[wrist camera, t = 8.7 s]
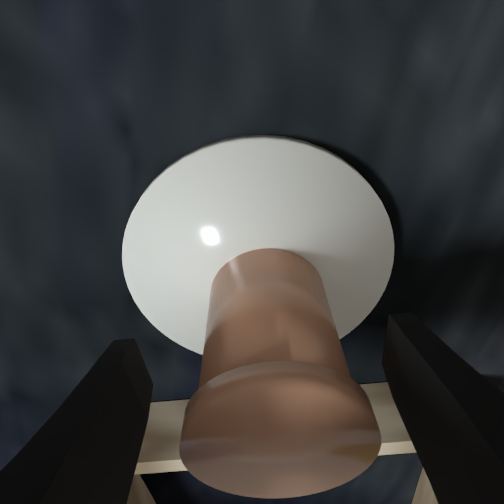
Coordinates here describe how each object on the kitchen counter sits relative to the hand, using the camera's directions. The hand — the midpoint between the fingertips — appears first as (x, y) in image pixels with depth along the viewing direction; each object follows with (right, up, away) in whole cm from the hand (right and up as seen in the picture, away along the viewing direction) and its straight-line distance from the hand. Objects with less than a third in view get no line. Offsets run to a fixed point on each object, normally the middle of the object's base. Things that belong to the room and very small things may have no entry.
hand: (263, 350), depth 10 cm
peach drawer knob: (0, +1, +4) cm, 4 cm away
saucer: (0, +2, +4) cm, 4 cm away
